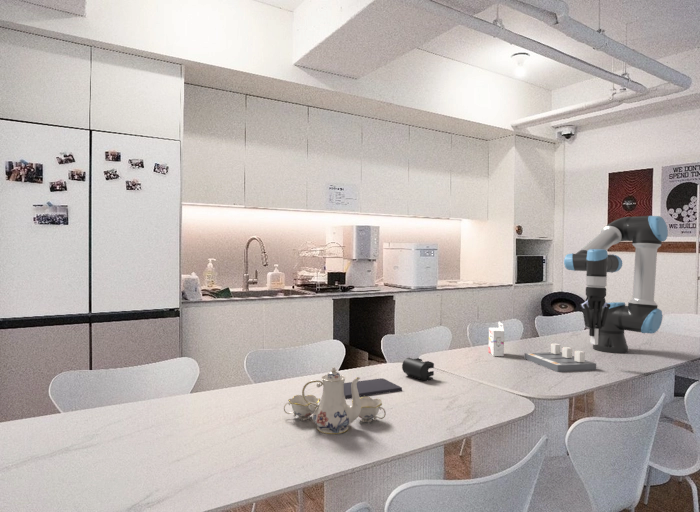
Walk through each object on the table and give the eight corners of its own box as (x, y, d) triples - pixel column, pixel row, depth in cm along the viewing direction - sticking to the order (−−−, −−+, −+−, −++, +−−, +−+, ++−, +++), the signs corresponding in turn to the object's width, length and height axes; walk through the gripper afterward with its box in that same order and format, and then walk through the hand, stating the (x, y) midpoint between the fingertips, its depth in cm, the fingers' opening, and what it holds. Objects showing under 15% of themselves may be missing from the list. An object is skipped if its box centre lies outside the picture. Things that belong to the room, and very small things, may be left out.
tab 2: (567, 356, 204) (567, 346, 204) (572, 357, 201) (572, 348, 201) (562, 356, 203) (562, 347, 203) (566, 358, 200) (567, 348, 200)
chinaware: (382, 419, 138) (383, 361, 139) (389, 436, 121) (389, 369, 122) (285, 419, 137) (286, 360, 138) (278, 436, 120) (279, 368, 122)
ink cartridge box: (487, 352, 222) (488, 320, 222) (498, 352, 222) (499, 321, 222) (492, 356, 213) (493, 323, 213) (504, 357, 213) (504, 324, 213)
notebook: (344, 400, 151) (402, 392, 160) (345, 395, 151) (402, 387, 160) (328, 389, 162) (382, 382, 172) (328, 384, 162) (382, 378, 172)
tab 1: (555, 352, 211) (555, 343, 211) (560, 353, 208) (560, 344, 208) (550, 352, 211) (550, 343, 211) (555, 354, 208) (555, 344, 208)
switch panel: (559, 357, 214) (559, 351, 214) (596, 369, 193) (596, 363, 193) (524, 358, 210) (524, 352, 210) (557, 371, 188) (557, 365, 188)
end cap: (401, 376, 178) (401, 358, 178) (415, 373, 183) (415, 356, 182) (420, 382, 170) (420, 363, 170) (434, 379, 174) (434, 361, 174)
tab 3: (579, 360, 197) (579, 350, 197) (584, 362, 194) (585, 352, 194) (574, 360, 196) (574, 350, 196) (579, 362, 193) (579, 352, 193)
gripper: (602, 286, 201) (600, 342, 201) (576, 285, 198) (574, 342, 198) (616, 287, 194) (614, 345, 194) (589, 287, 191) (587, 346, 191)
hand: (594, 344), depth 196 cm, fingers closed
